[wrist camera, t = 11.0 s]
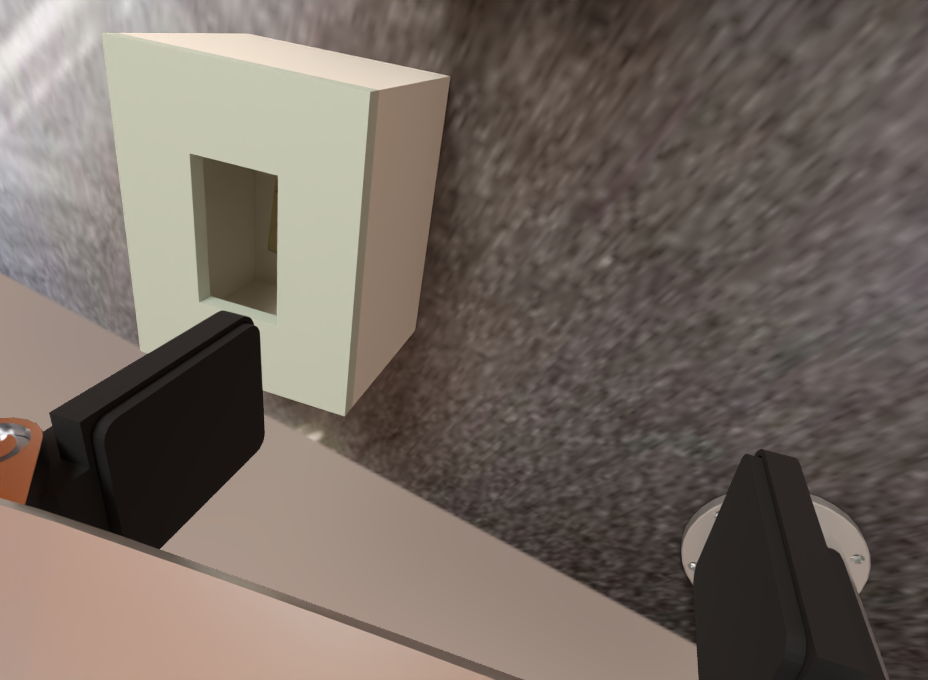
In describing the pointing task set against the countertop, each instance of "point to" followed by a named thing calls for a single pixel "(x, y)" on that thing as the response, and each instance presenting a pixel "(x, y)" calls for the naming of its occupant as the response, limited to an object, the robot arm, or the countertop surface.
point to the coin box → (299, 198)
